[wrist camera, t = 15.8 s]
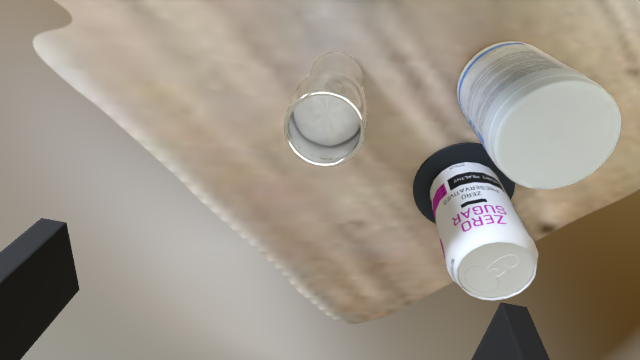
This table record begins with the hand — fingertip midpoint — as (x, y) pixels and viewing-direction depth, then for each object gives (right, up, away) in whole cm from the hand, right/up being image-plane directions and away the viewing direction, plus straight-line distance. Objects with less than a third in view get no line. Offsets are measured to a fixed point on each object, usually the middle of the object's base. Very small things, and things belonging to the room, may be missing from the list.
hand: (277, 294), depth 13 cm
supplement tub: (+21, +14, +32) cm, 41 cm away
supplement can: (+19, +2, +38) cm, 43 cm away
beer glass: (+3, +15, +34) cm, 37 cm away
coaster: (+19, +3, +39) cm, 43 cm away
